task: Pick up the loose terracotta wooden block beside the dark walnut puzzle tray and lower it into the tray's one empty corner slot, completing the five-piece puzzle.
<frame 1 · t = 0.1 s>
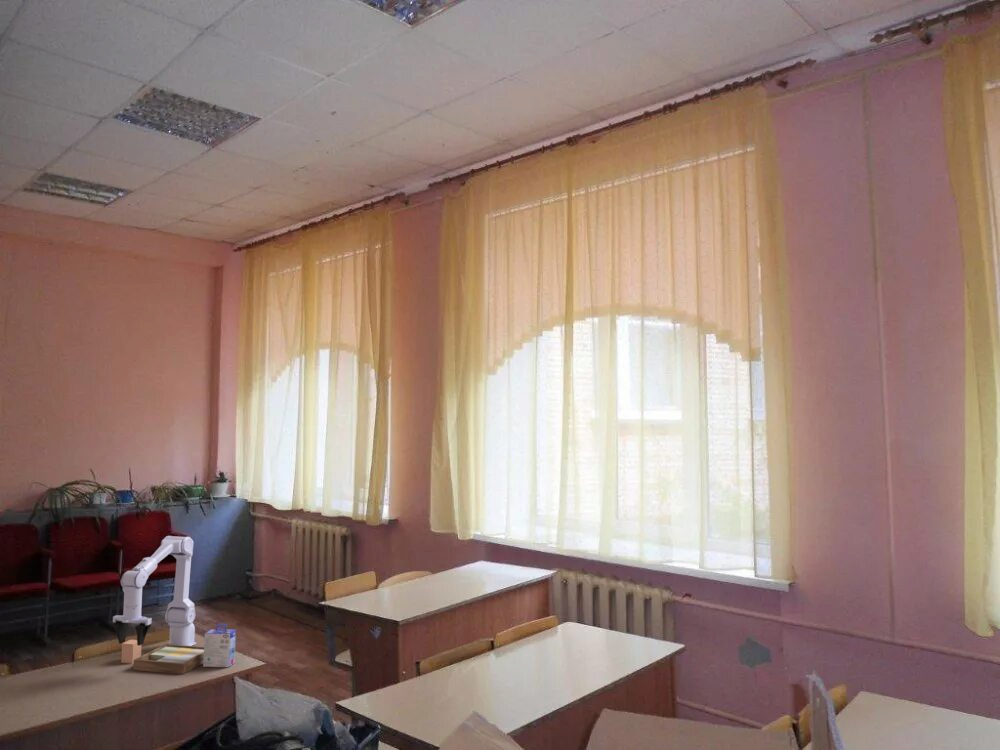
hand: (131, 643, 249), 10 cm above the table, fingers open, 7 cm apart
puzzle tray: (174, 663, 258), on the table
ink cartridge box: (219, 665, 257), on the table
terracotta block: (131, 661, 260), on the table
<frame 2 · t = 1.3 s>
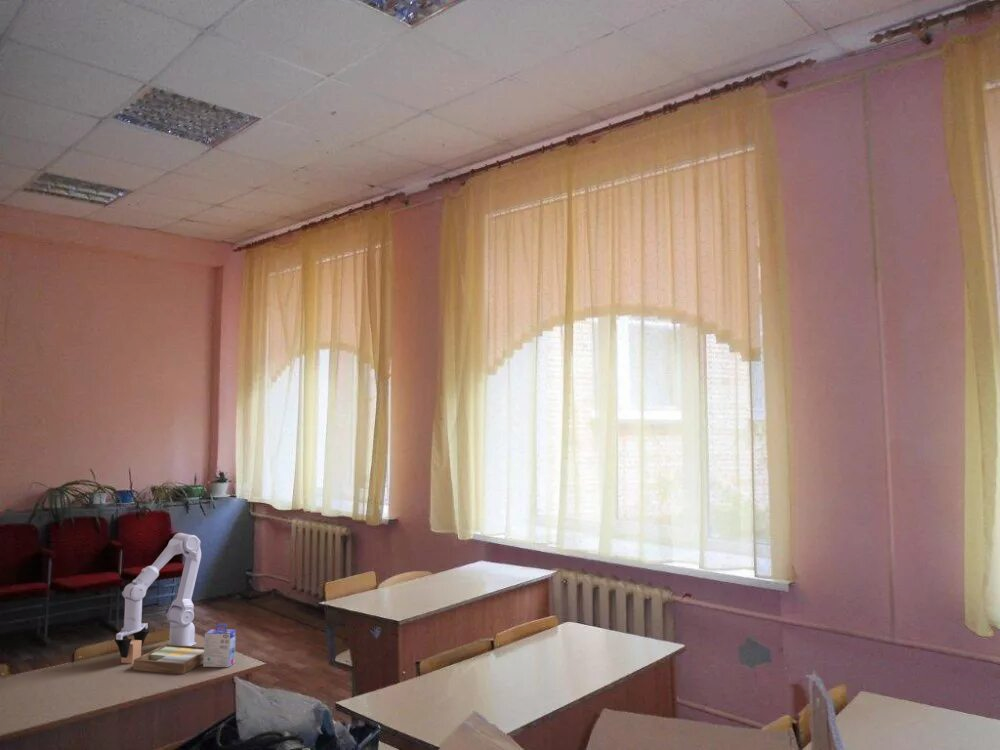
hand: (131, 653, 260), 3 cm above the table, fingers open, 7 cm apart
nothing on the table moved.
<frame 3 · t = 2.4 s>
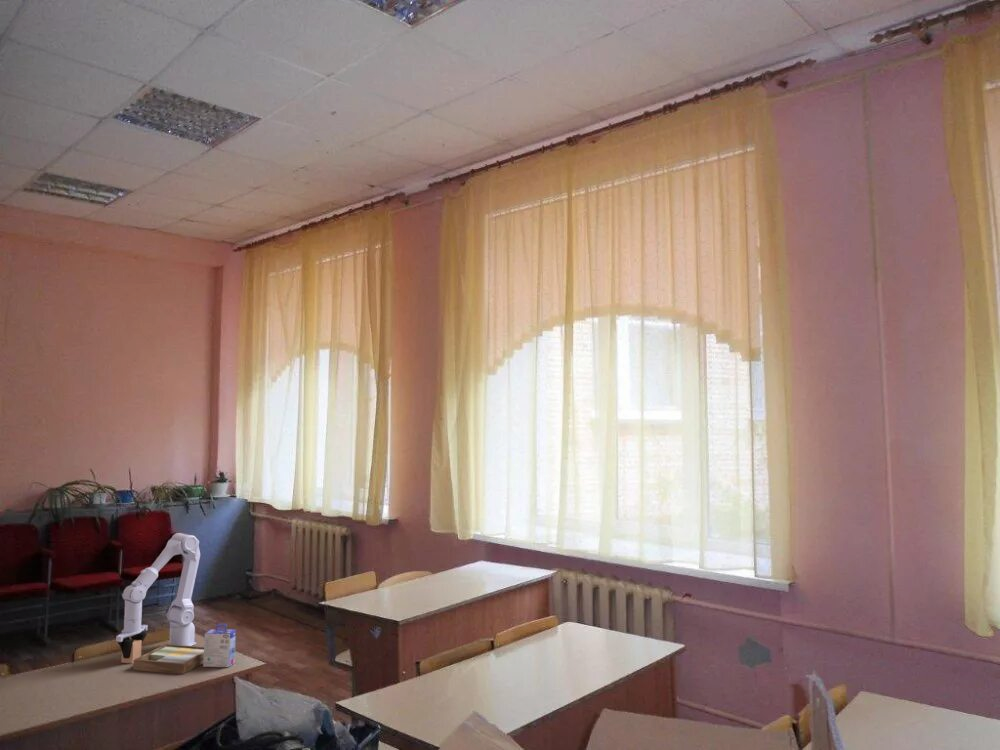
hand: (131, 655, 260), 2 cm above the table, fingers closed on terracotta block, 5 cm apart
terracotta block: (131, 660, 260), on the table, touching gripper
everything else where it was.
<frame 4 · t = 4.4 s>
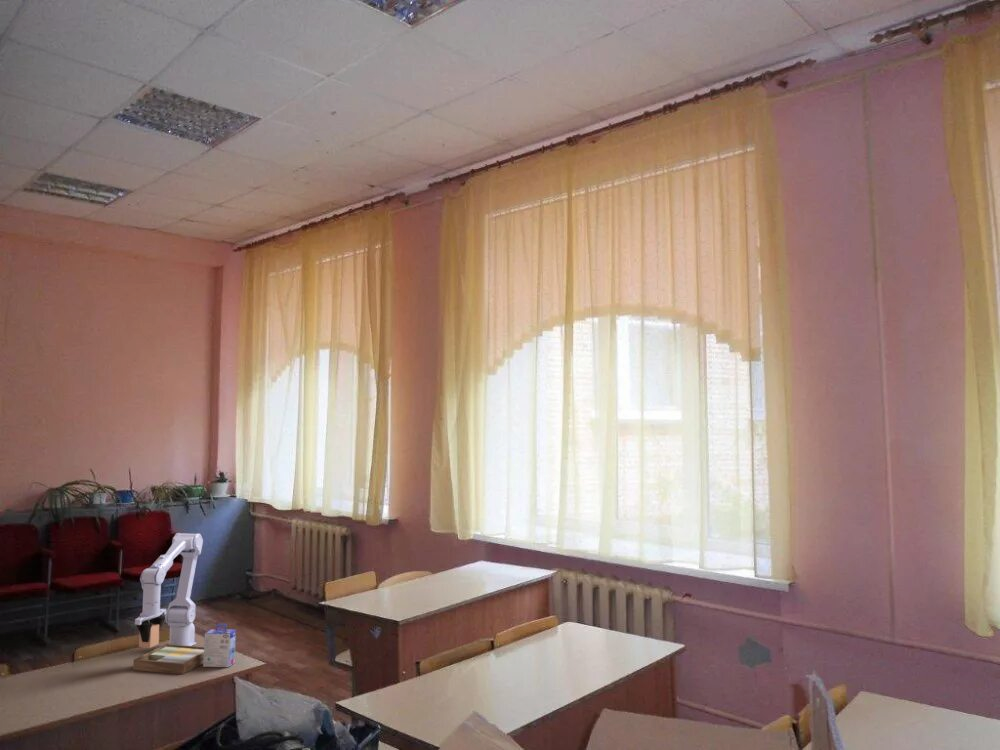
hand: (150, 639, 255), 9 cm above the table, fingers closed on terracotta block, 5 cm apart
terracotta block: (148, 645, 255), point 7 cm above the table, touching gripper
everything else where it was.
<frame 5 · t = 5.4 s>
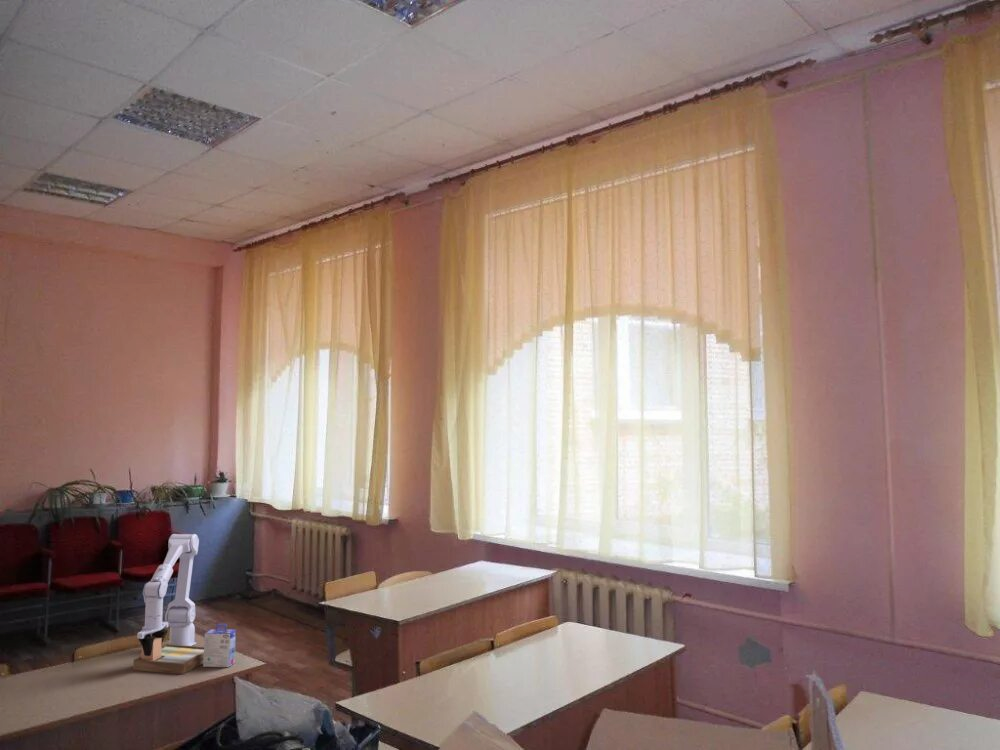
hand: (152, 653, 255), 5 cm above the table, fingers closed on terracotta block, 5 cm apart
terracotta block: (151, 659, 254), point 3 cm above the table, touching gripper
everything else where it was.
when the fingers open (4 cm above the table, at t = 6.4 s): terracotta block drops 1 cm, resting on puzzle tray.
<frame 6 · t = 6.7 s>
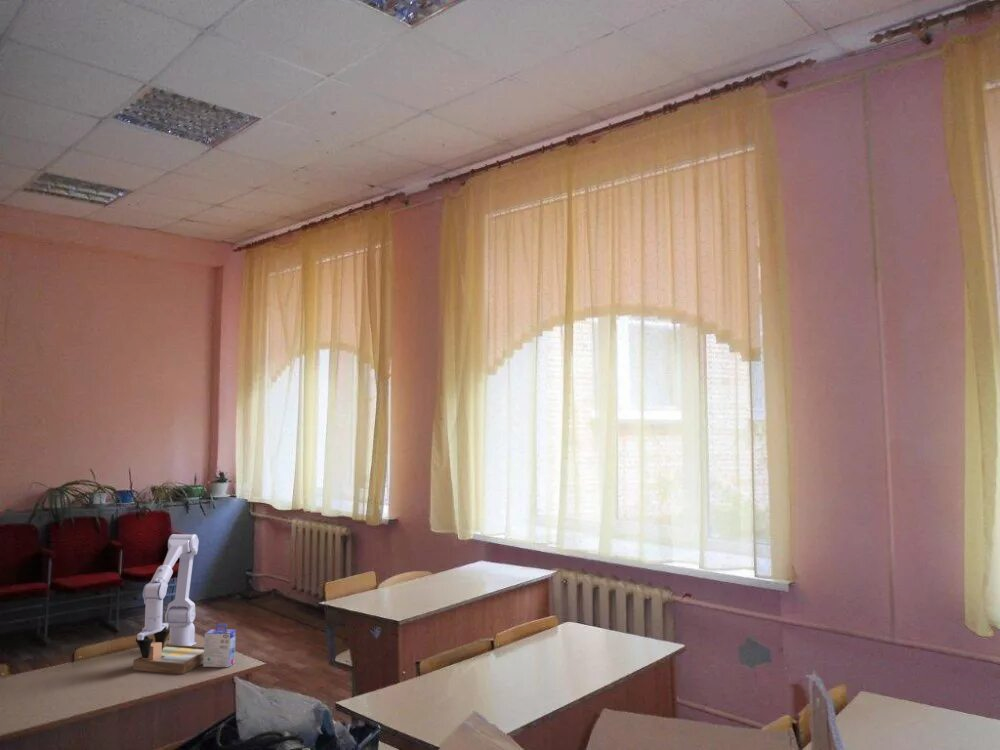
hand: (152, 654, 255), 4 cm above the table, fingers open, 7 cm apart
terracotta block: (151, 663, 254), point 1 cm above the table, touching puzzle tray
everything else where it was.
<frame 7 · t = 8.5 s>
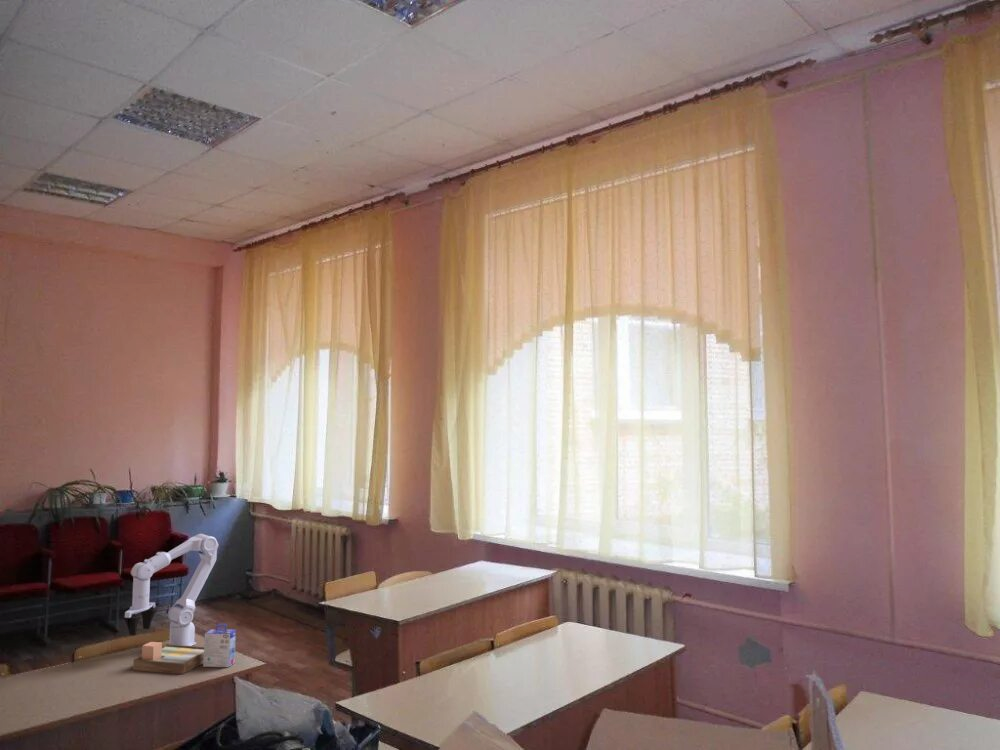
hand: (139, 631, 264), 9 cm above the table, fingers open, 7 cm apart
nothing on the table moved.
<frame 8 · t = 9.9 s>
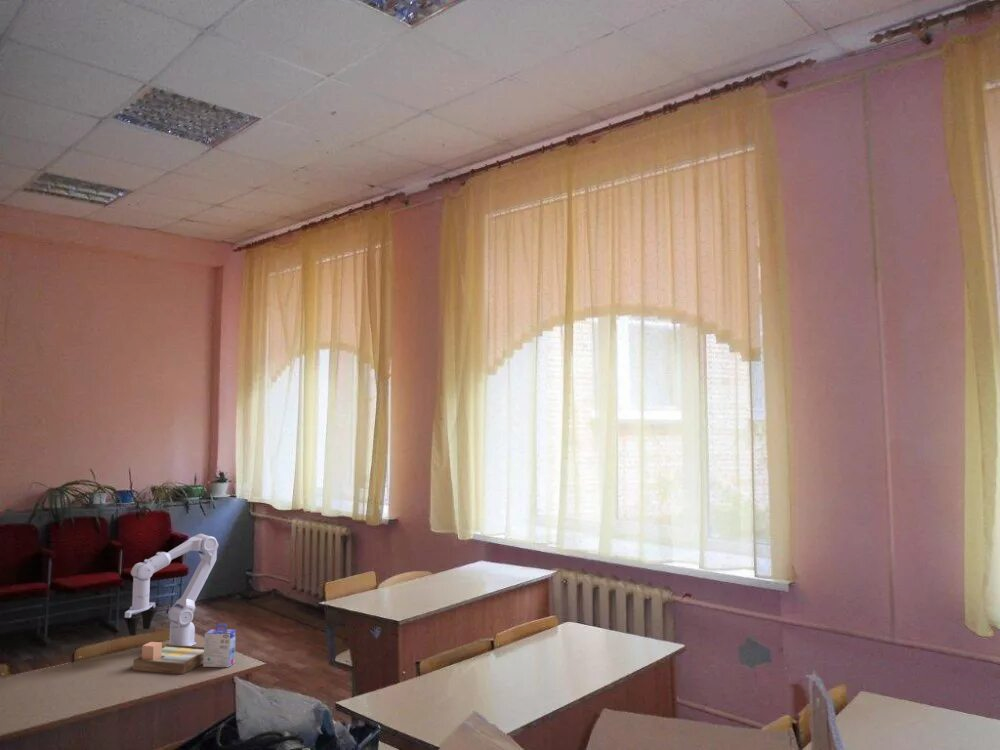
hand: (139, 631, 264), 9 cm above the table, fingers open, 7 cm apart
nothing on the table moved.
at the end: terracotta block 0.2 cm from the target spot on the puzzle tray, point 1.0 cm above the puzzle tray's base; terracotta block tilted 0°; the gripper is holding nothing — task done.
